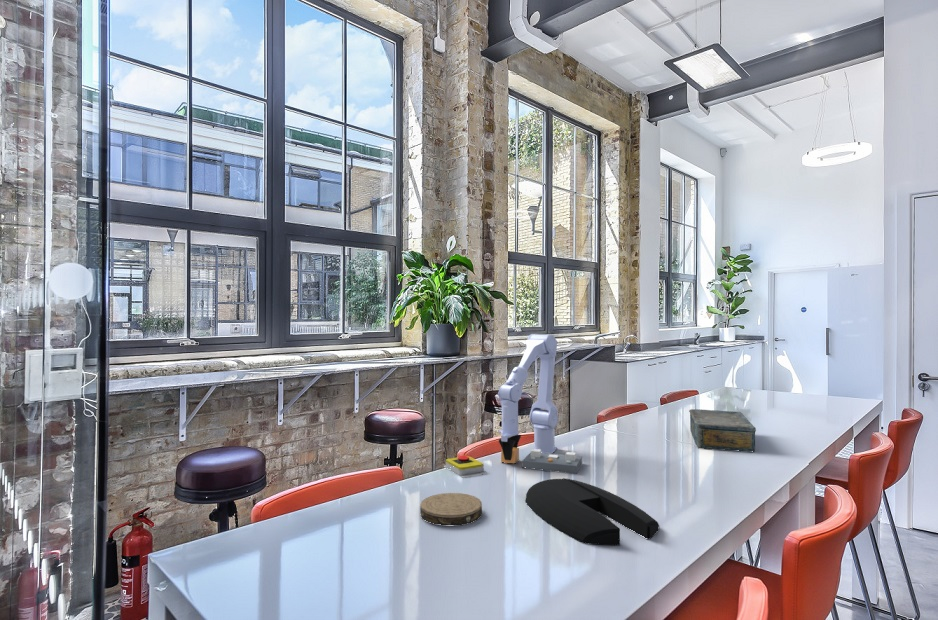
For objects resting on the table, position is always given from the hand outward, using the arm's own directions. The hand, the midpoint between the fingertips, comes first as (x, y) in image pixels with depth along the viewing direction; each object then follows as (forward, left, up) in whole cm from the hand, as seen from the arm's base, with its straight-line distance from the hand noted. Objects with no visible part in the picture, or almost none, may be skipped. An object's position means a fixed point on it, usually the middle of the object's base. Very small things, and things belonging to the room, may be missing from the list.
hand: (510, 457), depth 182 cm
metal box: (-57, +71, -2) cm, 92 cm away
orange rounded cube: (0, 0, -1) cm, 1 cm away
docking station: (+38, +31, -2) cm, 49 cm away
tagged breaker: (-1, +15, -1) cm, 15 cm away
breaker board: (0, +15, -1) cm, 15 cm away
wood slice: (+51, -1, -2) cm, 51 cm away
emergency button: (+14, -12, -2) cm, 18 cm away
